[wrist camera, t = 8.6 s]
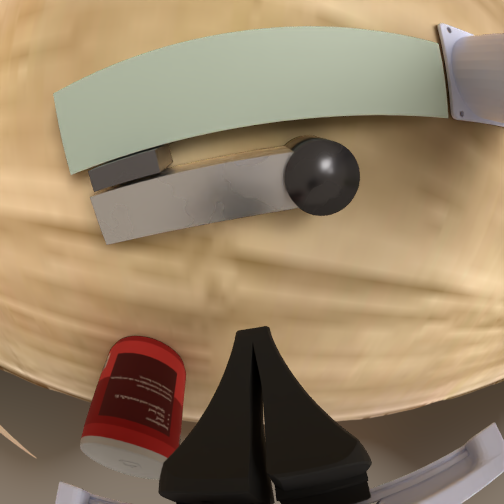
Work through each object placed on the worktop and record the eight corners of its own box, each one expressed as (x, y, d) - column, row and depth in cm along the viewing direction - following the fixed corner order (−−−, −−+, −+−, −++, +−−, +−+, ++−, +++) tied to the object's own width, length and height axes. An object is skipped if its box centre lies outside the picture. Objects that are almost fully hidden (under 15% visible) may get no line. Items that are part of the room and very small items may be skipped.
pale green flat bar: (421, 46, 12) (438, 43, 10) (431, 115, 15) (448, 118, 13) (69, 94, 13) (53, 93, 11) (85, 167, 15) (70, 175, 13)
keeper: (168, 143, 15) (154, 149, 12) (172, 161, 16) (160, 172, 13) (110, 160, 15) (88, 171, 12) (115, 177, 16) (94, 191, 13)
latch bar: (335, 132, 15) (357, 137, 12) (340, 193, 17) (360, 210, 14) (106, 177, 15) (84, 191, 13) (124, 232, 17) (107, 255, 14)
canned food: (135, 387, 26) (117, 475, 16) (96, 337, 22) (58, 436, 12) (199, 382, 25) (194, 481, 16) (166, 327, 22) (143, 448, 12)
